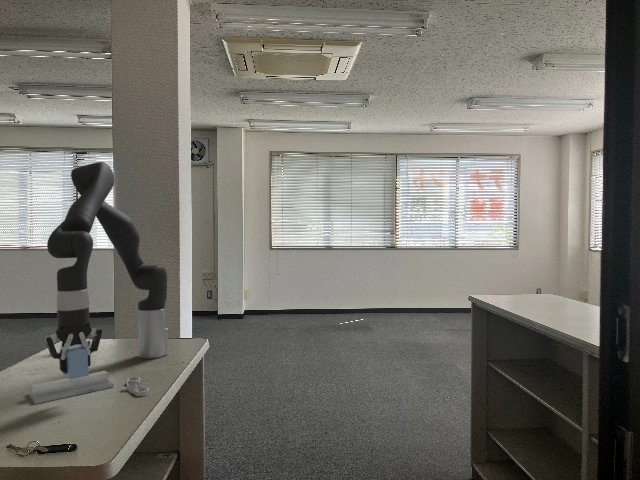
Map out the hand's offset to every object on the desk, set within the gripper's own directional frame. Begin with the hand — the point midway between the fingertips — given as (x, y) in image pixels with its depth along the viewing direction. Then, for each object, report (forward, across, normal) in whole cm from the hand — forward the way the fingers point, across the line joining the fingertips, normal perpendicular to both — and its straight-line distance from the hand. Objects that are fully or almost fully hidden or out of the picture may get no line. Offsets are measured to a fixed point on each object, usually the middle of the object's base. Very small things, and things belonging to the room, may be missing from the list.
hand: (75, 370), depth 123 cm
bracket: (+10, -16, 0) cm, 18 cm away
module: (+1, 0, 0) cm, 1 cm away
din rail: (+9, -1, -11) cm, 14 cm away
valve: (+10, -17, -62) cm, 65 cm away
